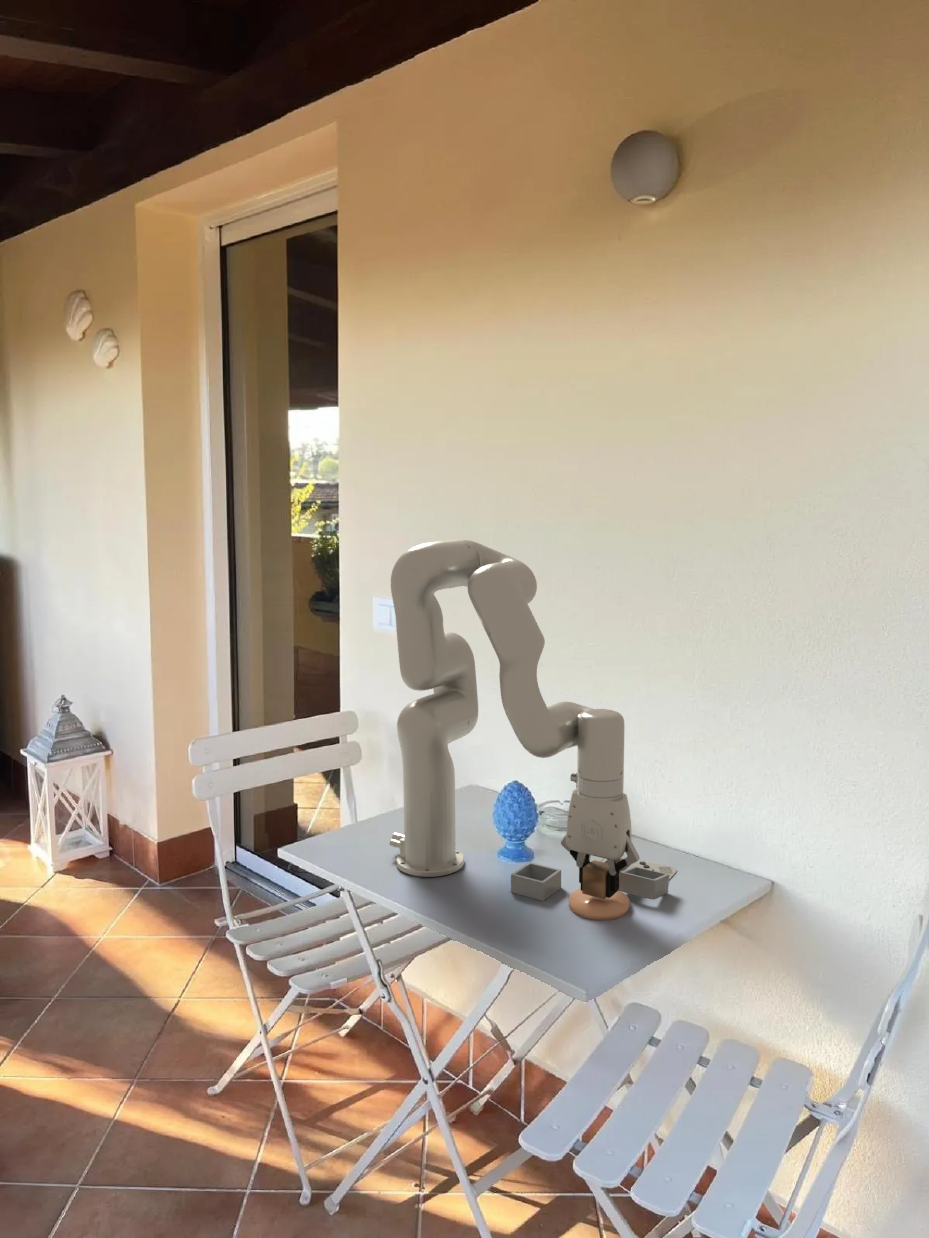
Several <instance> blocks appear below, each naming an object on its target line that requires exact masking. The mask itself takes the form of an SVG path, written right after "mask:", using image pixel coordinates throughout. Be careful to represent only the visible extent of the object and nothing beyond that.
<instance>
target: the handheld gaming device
mask: <svg viewBox="0 0 929 1238" xmlns="http://www.w3.org/2000/svg"><path fill="white" fill-rule="evenodd" d="M625 857H626V856H624V855H623V856H622V857H621V860H622V859H623V858H625ZM593 860H595V861H600V862H604V863H607V859H606V858H601V857H597V856H596V857H595V859H593ZM634 866H636V867H640V868H644V869H649V870H653V871H657V872H661V873H666V874H670V875H669V881H670V880H671V879H672V878H673V877H674V876H675V874H676V873H677V869H676V868H675V867H673V866H670V865H665V864H660V863H656V862H651V861H646V860H642V859H641V860H640V859H639V860H638V861H637V862H635V863H633V864H631V865H628V866H626V867H624V868H623V869H622V870H620V871H619V877H620V872H621V871H624V870H627V869H629V868H632V867H634ZM672 876H673V877H672Z"/></svg>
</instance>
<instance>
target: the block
mask: <svg viewBox="0 0 929 1238" xmlns="http://www.w3.org/2000/svg"><path fill="white" fill-rule="evenodd" d="M608 873H609V869H608V863H604V862H600V861H595V860H594V859H593V860H592V861H590V863H589V864H587V865H586V866H584V867H583V884H582V894H586V895H590V896H594V897H597V898H601V899H605V898H607V897H606V875H607V874H608Z"/></svg>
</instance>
